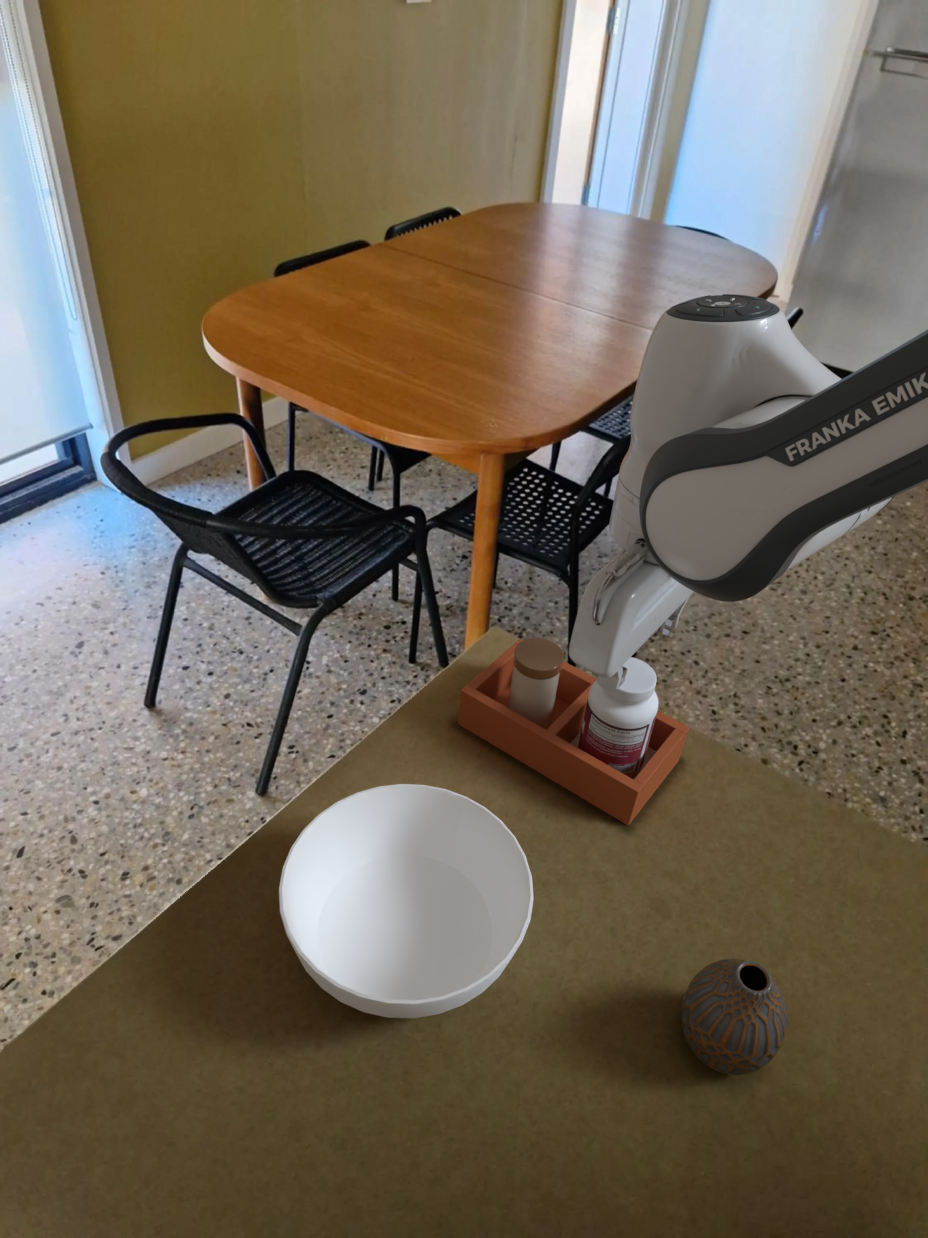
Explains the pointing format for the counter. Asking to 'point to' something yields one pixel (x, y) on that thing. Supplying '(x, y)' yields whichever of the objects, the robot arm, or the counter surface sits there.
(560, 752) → the divided tray
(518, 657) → the spice jar
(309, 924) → the bowl
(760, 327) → the robot arm
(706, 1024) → the vase
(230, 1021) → the counter surface
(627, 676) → the pill bottle
